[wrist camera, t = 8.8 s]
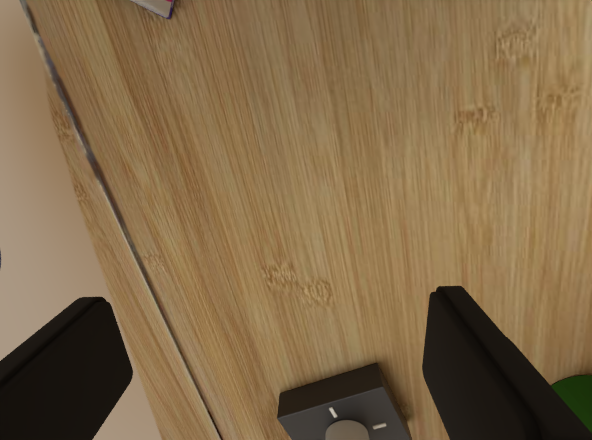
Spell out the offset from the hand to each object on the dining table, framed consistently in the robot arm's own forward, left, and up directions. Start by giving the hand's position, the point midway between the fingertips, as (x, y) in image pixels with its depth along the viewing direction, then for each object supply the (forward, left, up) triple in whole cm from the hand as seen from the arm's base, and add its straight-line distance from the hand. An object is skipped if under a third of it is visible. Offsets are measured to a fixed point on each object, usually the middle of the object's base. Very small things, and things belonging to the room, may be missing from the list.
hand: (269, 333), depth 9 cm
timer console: (-7, -27, -18) cm, 33 cm away
